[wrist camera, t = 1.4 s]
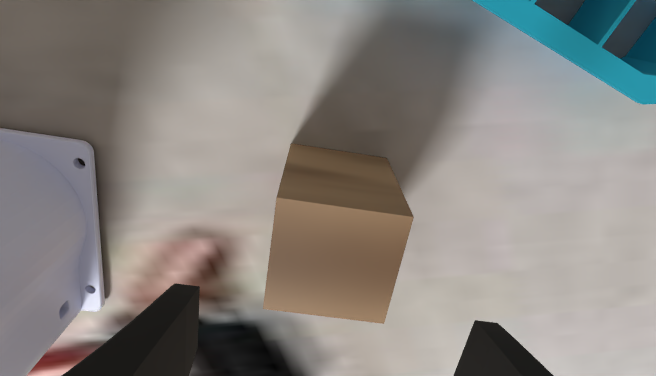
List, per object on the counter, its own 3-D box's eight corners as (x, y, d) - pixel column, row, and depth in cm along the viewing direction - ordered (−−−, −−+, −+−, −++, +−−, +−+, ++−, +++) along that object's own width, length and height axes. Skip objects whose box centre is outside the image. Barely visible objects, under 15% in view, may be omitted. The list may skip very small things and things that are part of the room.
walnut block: (367, 240, 20) (383, 323, 15) (279, 228, 20) (263, 308, 14) (386, 157, 18) (413, 217, 13) (291, 143, 18) (276, 197, 13)
